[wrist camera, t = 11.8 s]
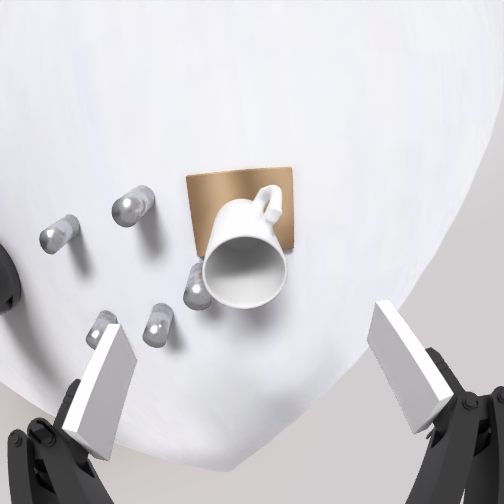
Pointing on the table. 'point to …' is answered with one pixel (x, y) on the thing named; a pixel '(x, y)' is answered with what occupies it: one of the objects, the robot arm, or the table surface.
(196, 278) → the cylinder
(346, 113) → the table surface
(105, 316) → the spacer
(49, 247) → the cylinder
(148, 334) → the cylinder
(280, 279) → the mug
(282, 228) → the trivet
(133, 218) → the cylinder
